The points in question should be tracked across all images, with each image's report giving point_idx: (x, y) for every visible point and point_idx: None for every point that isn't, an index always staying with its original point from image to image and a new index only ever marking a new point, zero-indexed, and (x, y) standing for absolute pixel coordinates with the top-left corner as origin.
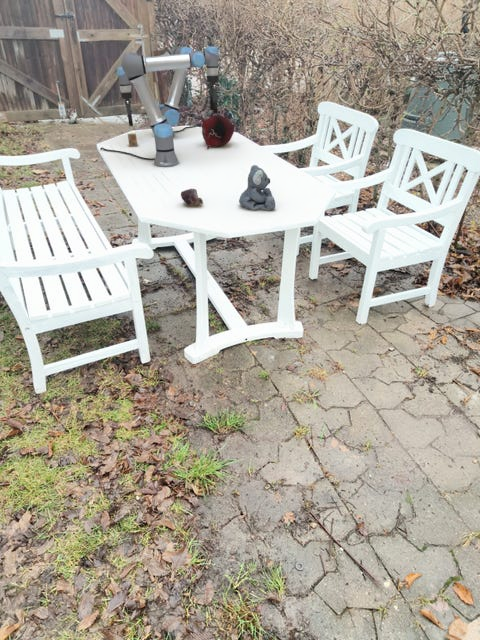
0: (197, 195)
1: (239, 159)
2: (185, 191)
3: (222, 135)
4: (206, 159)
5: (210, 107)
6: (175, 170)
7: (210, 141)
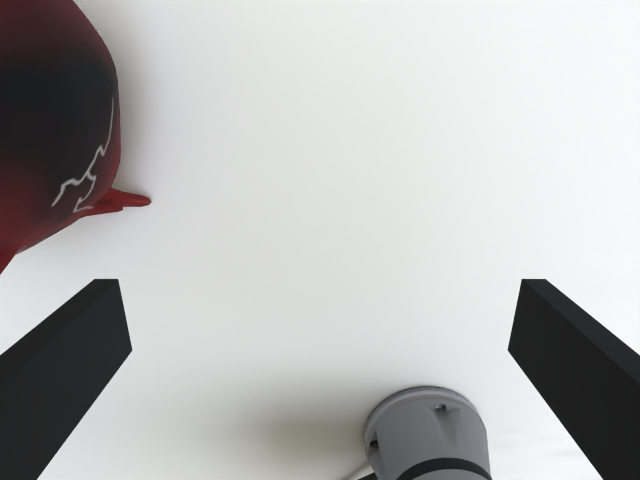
0: None
1: (474, 5)
2: None
3: (103, 85)
4: (402, 238)
5: (100, 381)
6: None
7: (108, 188)
